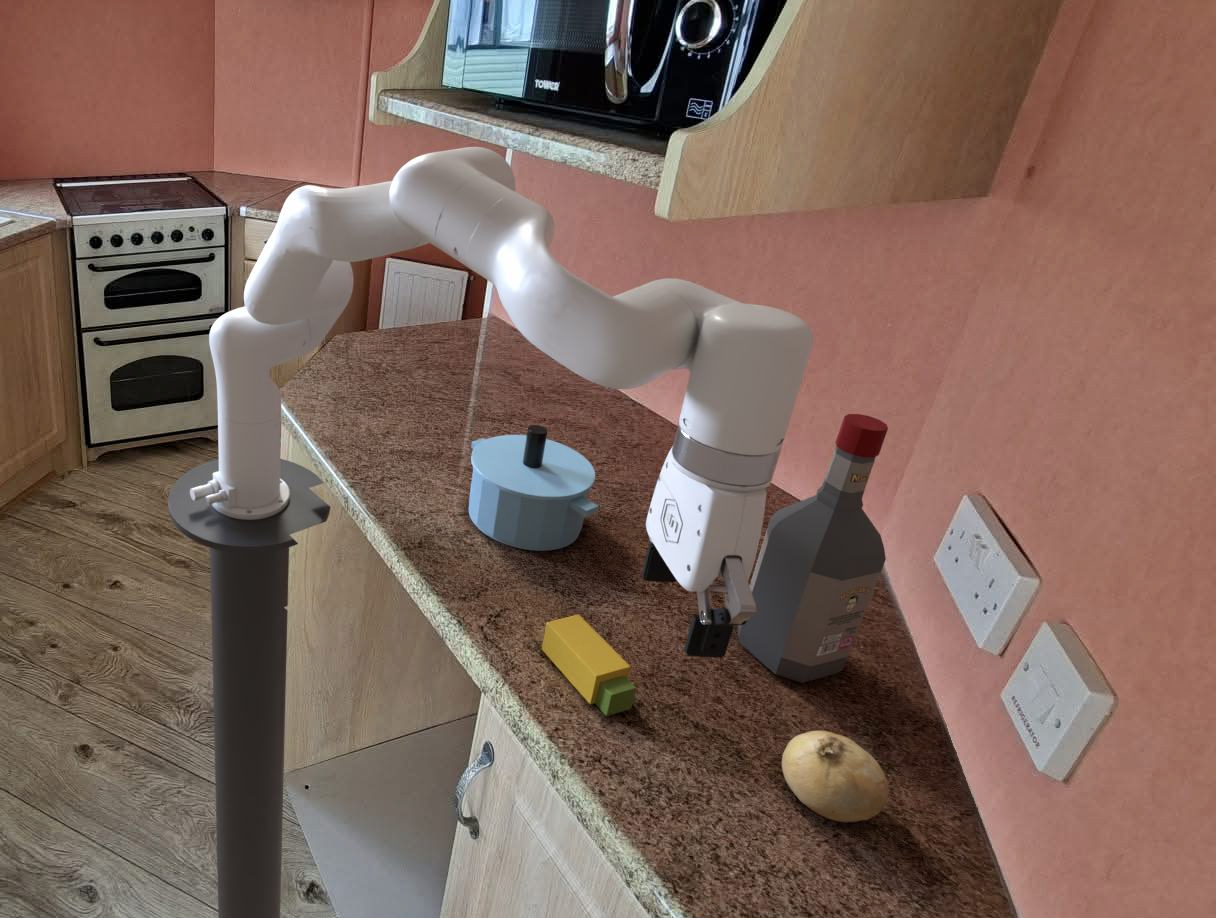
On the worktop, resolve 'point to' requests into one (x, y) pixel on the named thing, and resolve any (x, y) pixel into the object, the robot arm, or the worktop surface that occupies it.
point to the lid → (533, 466)
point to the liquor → (819, 566)
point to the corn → (589, 664)
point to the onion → (834, 776)
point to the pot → (526, 516)
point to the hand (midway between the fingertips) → (679, 614)
